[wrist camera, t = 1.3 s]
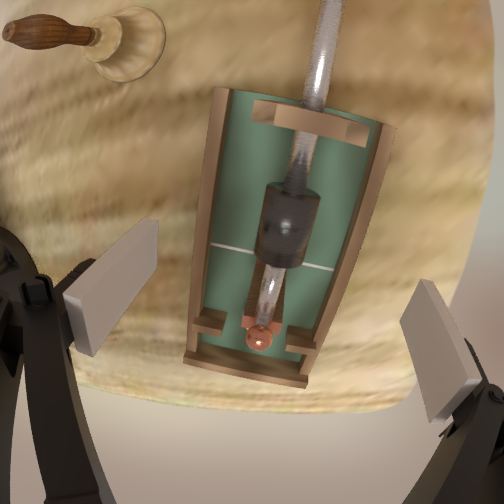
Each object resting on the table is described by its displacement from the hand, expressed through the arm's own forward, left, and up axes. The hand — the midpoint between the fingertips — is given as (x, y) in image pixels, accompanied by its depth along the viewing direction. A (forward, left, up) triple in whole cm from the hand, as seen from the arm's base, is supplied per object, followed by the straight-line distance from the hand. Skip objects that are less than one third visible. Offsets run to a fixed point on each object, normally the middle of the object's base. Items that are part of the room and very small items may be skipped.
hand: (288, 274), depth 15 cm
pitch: (0, -7, -16) cm, 18 cm away
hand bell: (-18, +12, -16) cm, 27 cm away
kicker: (0, +4, -14) cm, 15 cm away
